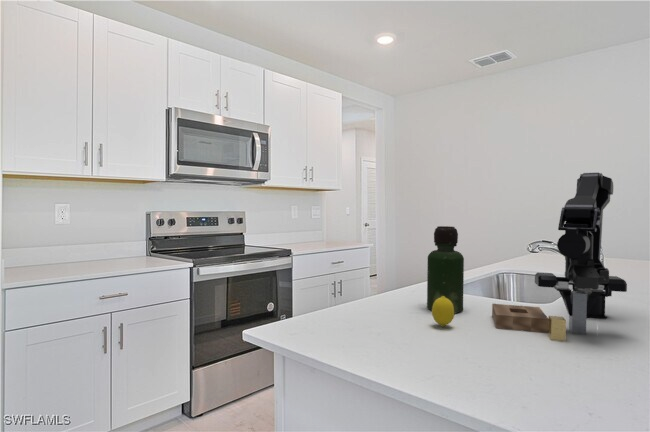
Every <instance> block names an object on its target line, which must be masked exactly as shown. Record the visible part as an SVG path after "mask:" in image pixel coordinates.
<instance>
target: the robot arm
mask: <svg viewBox="0 0 650 432" xmlns="http://www.w3.org/2000/svg"><path fill="white" fill-rule="evenodd" d="M613 194H614V181H613V179H612V178H611V177H608V176H605V175H603V173H602V172H601V173H600V172H583V173H580V175H579V178H578V179H577V180H576V193H575V196H574V197H572V198H570V199H568V200H567V201H566V203H565V204H564V207H563V206H562V207H561V211H560V215H559V222H558V229H557V230H558V231H564V234H562V235H561V236H560V237H559V238H558V240H557V244H556V245H557V246H556V247H557V250H558V251H559V253H560V254H561V255H563V256H564V260H565V263H564V264H565V267H564V268H565V269H564V270H565V271H564V276H556V275H555V274H554V273H552V272H536V273H535V274H534V284H536V285H537V287H540V288H541V287H542V288H553V289H554V290H556V291H557V292H559V294H560V296H561V298H562V301H563V303H564V306H565V309H566V311H567V315H568V317H569V316H571V314H572V307H571V291H583V292H585V293H586V294H587V315H586V318H597V319H608V316H607V315H606V298H608V297H612V293H613V292H621V293H626V292H628V291H627V290H628V283H627V281H626V280H625V279H624V278H621V277H619V276H616V275H615V276H614V275H610V270H609V268H607V267H605V265H604V264H603V262H602V261H601V251H602V250H601V249H602V238H603V237H602V233H603V216H604V215H603V214H604V209H605V208H606V207H607V206H608V205H609V204H610V201H611V196H612V195H613ZM569 286H572V289H570V288H569Z"/></svg>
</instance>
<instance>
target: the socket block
mask: <svg viewBox="0 0 650 432" xmlns="http://www.w3.org/2000/svg"><path fill="white" fill-rule="evenodd" d="M491 306H492V307H491V315H492V320H493V324H494V327H495V329H501V330H510V331H511V330H512V331H521V330H523V331H524V332H532V331H533V333H534V332H535V333H546V334H548V326H549V316H547V314H546V313H545V312H544V311H543V310H542V308H540V306H527V305H517V304H516V305H515V304H514V305H512V304H501V303H492V304H491ZM523 331H522V332H523Z"/></svg>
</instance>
